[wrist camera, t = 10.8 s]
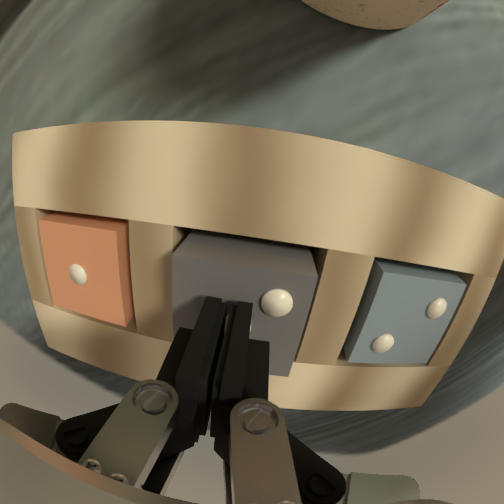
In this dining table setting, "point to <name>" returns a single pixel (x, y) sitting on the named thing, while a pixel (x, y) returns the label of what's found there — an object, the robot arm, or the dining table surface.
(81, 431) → the robot arm
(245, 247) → the key three
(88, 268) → the key one
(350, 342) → the key two
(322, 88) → the dining table surface
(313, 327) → the wooden puzzle board
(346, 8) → the teacup with lid
